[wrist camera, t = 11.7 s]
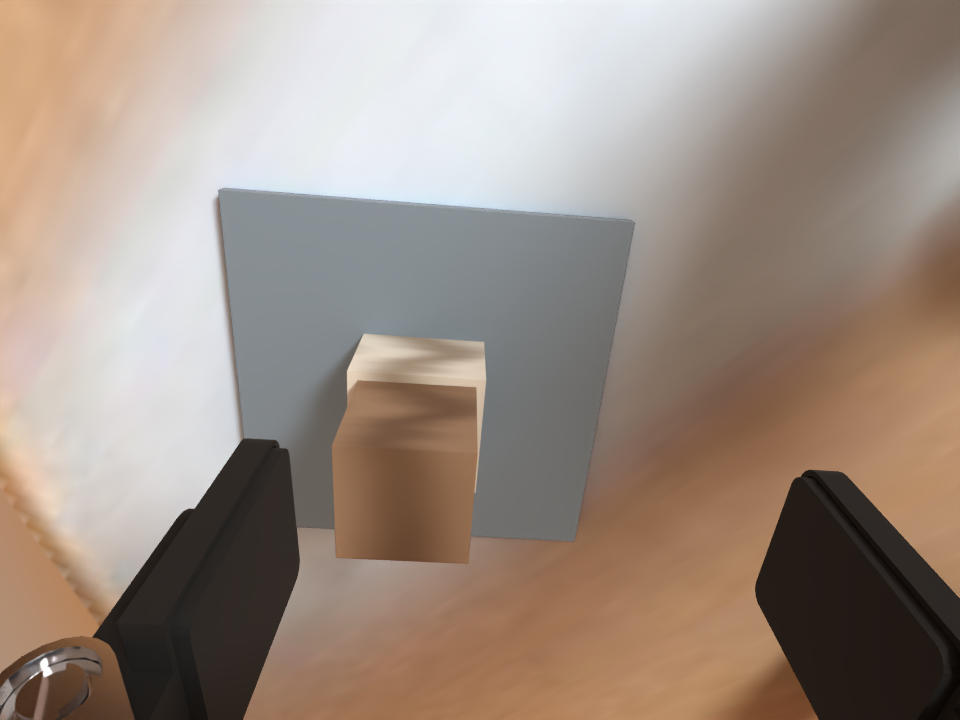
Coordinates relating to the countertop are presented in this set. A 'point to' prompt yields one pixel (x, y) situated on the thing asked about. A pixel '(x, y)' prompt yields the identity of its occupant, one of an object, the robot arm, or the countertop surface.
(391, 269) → the board
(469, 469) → the walnut cube
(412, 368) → the cream base block
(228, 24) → the countertop surface
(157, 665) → the robot arm
